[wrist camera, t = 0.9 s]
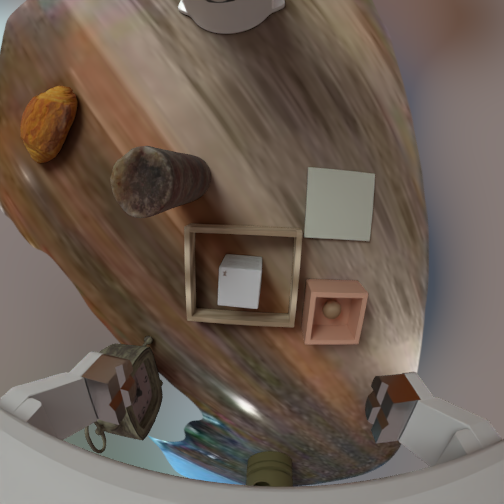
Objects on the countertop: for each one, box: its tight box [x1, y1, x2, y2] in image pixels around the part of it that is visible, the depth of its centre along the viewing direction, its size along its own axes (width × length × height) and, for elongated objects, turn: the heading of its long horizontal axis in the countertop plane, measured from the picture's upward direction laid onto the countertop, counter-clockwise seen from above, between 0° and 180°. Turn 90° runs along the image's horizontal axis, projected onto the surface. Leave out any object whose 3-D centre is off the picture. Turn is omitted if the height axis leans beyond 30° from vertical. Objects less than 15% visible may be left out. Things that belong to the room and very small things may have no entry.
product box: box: [218, 254, 262, 309], centre depth 45 cm, size 6×6×7 cm
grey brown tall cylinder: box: [110, 146, 210, 218], centre depth 35 cm, size 8×7×20 cm
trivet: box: [304, 167, 375, 241], centre depth 45 cm, size 11×11×1 cm
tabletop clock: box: [85, 336, 163, 453], centre depth 42 cm, size 14×9×25 cm, turn 2°
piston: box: [246, 451, 293, 487], centre depth 55 cm, size 11×12×11 cm
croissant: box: [20, 86, 78, 164], centre depth 40 cm, size 14×16×8 cm
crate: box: [184, 224, 303, 327], centre depth 47 cm, size 16×18×4 cm
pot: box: [301, 279, 368, 344], centre depth 46 cm, size 9×9×6 cm
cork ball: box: [322, 300, 341, 319], centre depth 47 cm, size 3×3×3 cm
